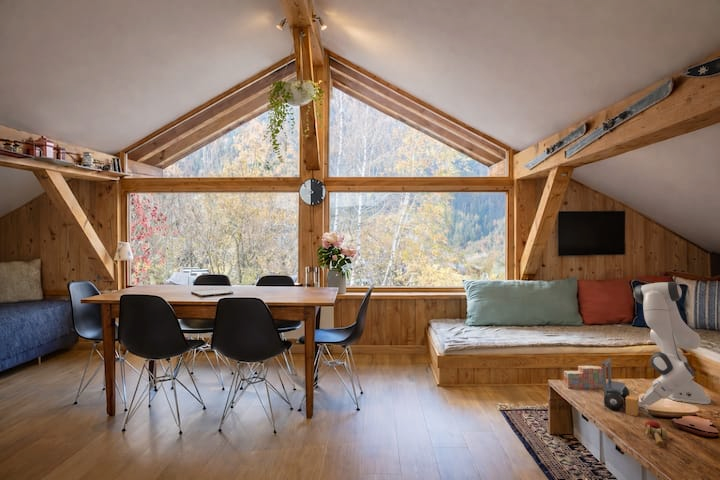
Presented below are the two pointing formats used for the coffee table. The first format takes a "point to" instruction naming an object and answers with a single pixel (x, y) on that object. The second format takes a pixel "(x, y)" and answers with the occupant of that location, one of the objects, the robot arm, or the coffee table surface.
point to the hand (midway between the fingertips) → (640, 402)
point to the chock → (632, 405)
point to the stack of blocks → (584, 377)
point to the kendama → (655, 432)
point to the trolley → (613, 390)
